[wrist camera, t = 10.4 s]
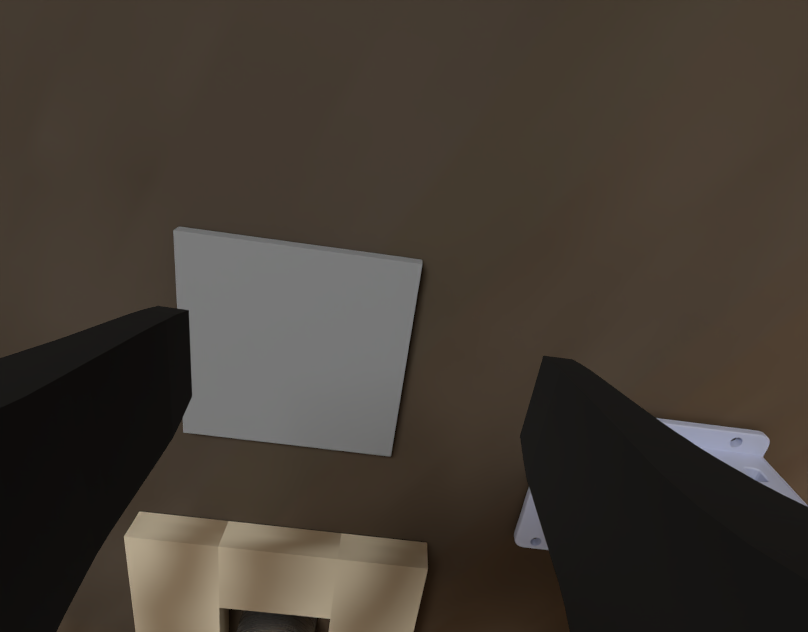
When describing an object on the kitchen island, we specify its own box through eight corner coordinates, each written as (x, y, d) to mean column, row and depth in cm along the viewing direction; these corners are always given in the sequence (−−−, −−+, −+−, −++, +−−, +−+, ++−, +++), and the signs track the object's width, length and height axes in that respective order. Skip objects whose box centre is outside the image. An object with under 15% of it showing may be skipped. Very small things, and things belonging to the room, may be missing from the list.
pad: (422, 259, 19) (422, 264, 19) (391, 449, 23) (391, 456, 23) (178, 226, 19) (173, 230, 18) (188, 425, 23) (183, 432, 22)
